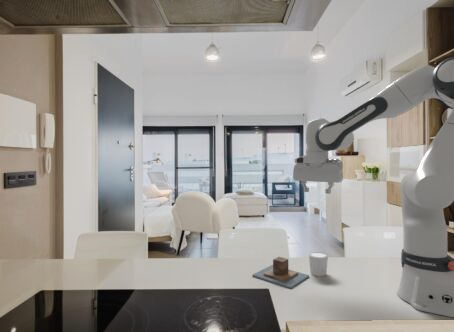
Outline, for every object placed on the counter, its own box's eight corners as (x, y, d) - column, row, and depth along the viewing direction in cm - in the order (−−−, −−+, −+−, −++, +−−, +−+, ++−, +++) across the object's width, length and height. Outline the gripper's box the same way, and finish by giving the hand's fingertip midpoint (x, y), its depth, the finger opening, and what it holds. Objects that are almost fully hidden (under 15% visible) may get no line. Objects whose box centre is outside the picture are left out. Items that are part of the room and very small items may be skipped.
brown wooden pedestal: (297, 274, 106) (297, 258, 106) (285, 282, 100) (285, 265, 100) (276, 268, 112) (276, 253, 112) (263, 275, 106) (263, 259, 106)
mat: (309, 276, 106) (309, 275, 106) (291, 288, 96) (291, 287, 96) (272, 266, 116) (272, 265, 116) (252, 276, 107) (252, 274, 107)
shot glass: (305, 271, 111) (304, 253, 110) (318, 268, 114) (318, 250, 113) (317, 278, 104) (317, 258, 104) (332, 274, 107) (332, 256, 107)
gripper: (345, 158, 114) (345, 193, 115) (298, 159, 128) (298, 190, 128) (339, 158, 110) (339, 195, 110) (291, 159, 123) (291, 191, 124)
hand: (317, 192), depth 119 cm, fingers open, 8 cm apart
